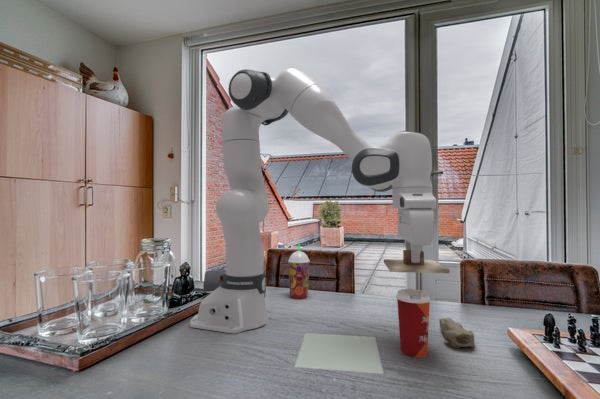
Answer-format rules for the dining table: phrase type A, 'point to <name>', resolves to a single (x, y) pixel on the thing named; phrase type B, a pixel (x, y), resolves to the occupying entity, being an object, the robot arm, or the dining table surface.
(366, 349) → the mat
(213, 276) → the bluetooth speaker
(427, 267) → the lid
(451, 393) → the dining table surface
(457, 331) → the sculpture
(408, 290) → the paper cup
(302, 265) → the smoothie
